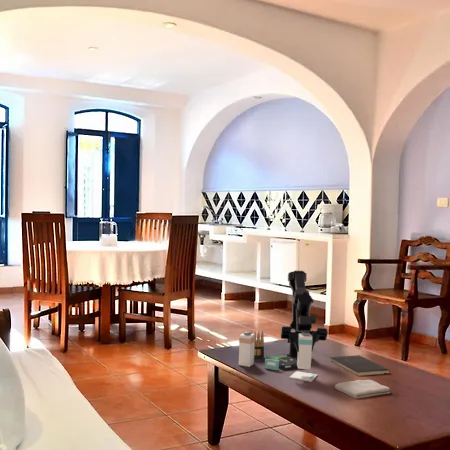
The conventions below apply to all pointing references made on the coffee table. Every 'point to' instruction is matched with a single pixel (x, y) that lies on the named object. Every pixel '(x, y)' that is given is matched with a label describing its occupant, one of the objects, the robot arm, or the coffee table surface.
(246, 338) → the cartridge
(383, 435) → the coffee table surface
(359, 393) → the washcloth
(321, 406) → the coffee table surface
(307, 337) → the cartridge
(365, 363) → the hardcover book
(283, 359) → the disk drive
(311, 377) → the mat
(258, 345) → the ammunition clip
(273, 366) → the teal cartridge with label
